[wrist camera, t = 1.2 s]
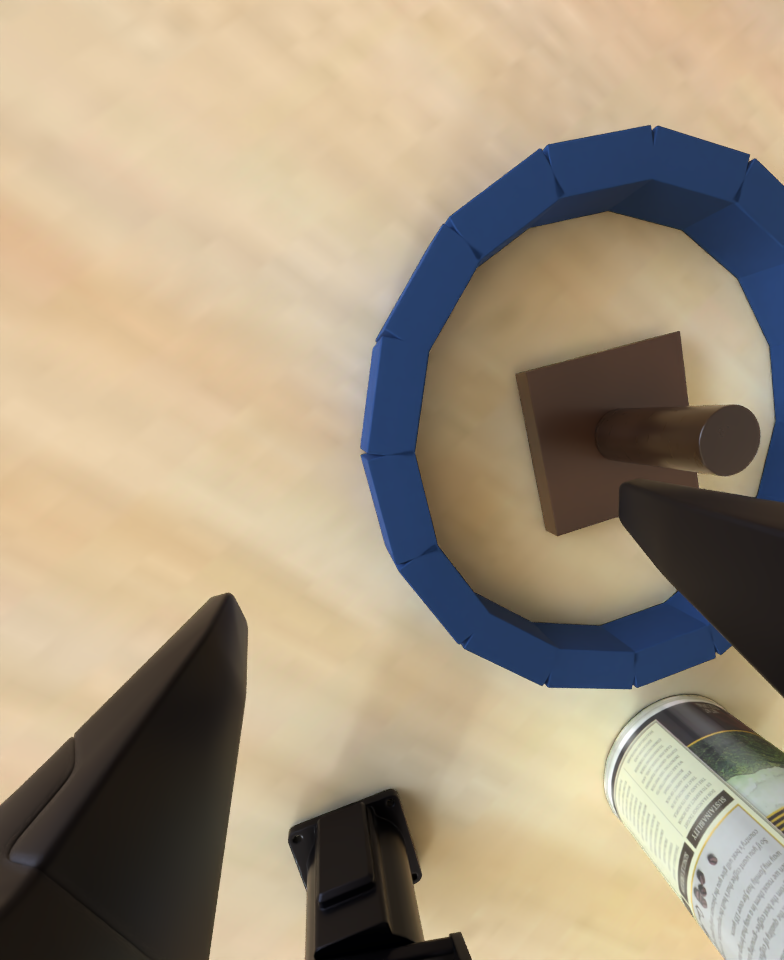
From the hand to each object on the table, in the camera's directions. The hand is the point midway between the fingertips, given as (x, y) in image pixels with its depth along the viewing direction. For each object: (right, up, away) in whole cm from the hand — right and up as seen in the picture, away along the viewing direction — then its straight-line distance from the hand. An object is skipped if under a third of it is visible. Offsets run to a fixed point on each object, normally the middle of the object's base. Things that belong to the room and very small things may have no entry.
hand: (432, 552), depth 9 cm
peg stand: (+11, +4, +14) cm, 19 cm away
